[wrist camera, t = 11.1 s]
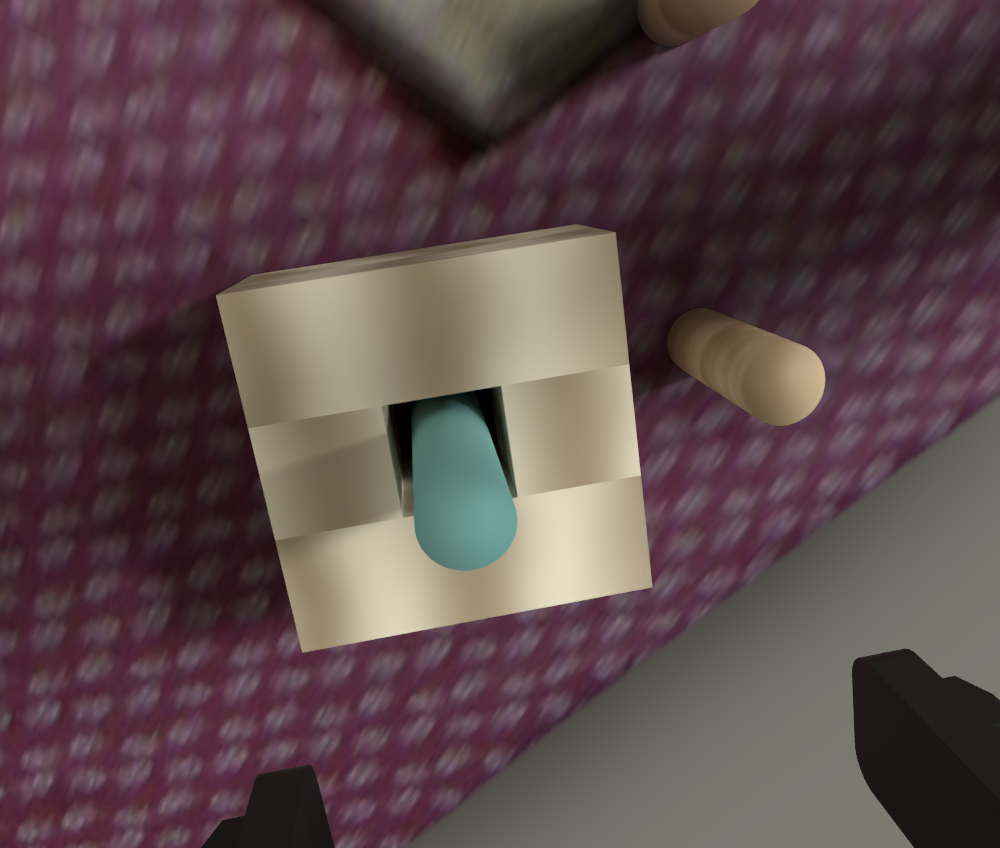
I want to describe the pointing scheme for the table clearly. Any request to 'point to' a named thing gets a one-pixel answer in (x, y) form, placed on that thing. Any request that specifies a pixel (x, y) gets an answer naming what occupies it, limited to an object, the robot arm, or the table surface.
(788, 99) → the table surface
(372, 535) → the hole block
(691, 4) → the short pin
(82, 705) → the table surface
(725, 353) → the medium pin
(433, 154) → the table surface
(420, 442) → the long pin
